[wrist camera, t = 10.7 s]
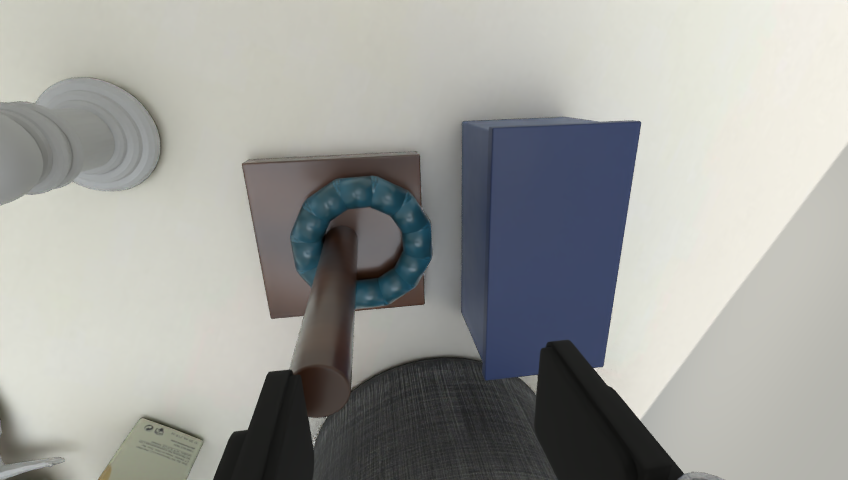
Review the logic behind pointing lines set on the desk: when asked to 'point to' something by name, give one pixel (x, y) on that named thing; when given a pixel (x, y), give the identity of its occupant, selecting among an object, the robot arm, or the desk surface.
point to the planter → (433, 428)
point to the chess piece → (76, 140)
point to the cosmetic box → (153, 454)
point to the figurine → (25, 465)
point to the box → (542, 235)
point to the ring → (380, 198)
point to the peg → (326, 260)
